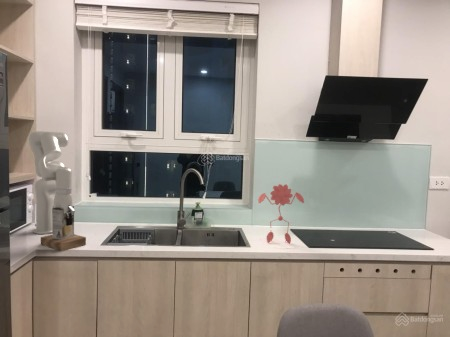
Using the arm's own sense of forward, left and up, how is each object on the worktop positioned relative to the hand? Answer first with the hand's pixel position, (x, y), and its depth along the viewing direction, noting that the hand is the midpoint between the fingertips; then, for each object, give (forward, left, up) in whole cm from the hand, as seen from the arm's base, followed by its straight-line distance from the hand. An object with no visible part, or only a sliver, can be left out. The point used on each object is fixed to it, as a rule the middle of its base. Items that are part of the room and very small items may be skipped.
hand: (63, 223), depth 181 cm
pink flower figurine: (+92, +73, -11) cm, 118 cm away
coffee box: (0, 0, -7) cm, 7 cm away
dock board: (0, 0, -11) cm, 11 cm away
